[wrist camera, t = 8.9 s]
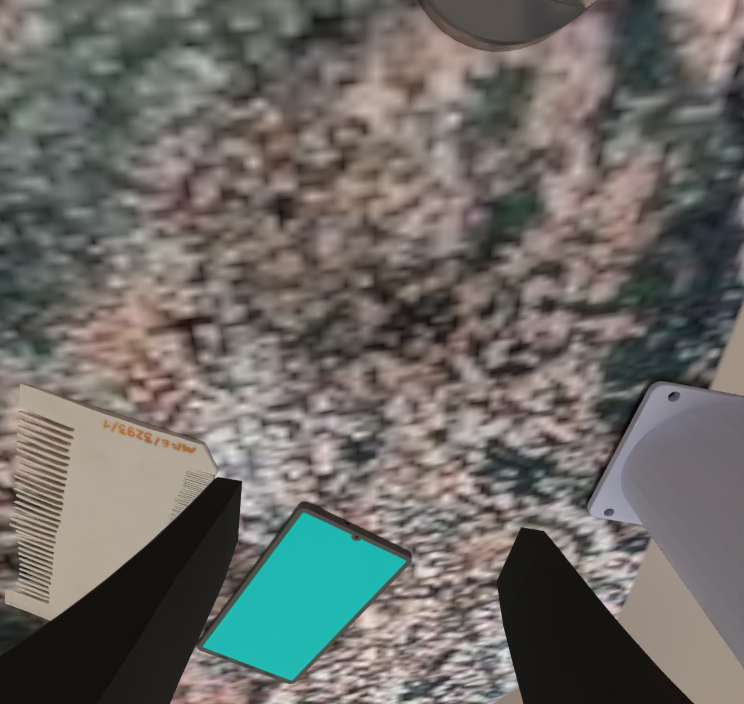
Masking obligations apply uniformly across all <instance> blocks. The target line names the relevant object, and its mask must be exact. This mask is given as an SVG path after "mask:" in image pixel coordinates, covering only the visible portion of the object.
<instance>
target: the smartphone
mask: <svg viewBox="0 0 744 704" xmlns="http://www.w3.org/2000/svg"><path fill="white" fill-rule="evenodd" d="M410 563H411V553H410V552H409V551H407V550H405V549H403V548H401V547H399V546H397V545H395V544H393V543H391V542H389V541H387V540H385V539H383V538H381V537H378V536H376V535H374V534H372V533H370V532H368V531H366V530H364V529H362V528H360V527H358V526H356V525H354V524H352V523H349V524H348V525H347V524H346V523H345V520H343V519H341V518H339V517H337V516H335V515H333V514H331V513H329V512H327V511H325V510H323V509H321V508H319V507H317V506H314V505H312V504H310V503H308V502H302V503H300V504H299V506H298V507H297V508H296V510H295V511H294V512H293V514H292V515H291V517H290V518H289V519H288V521H287V522H286V523H285V525H284V526H283V527H282V529H281V530H280V531H279V533H278V534H277V536H276V537H275V538H274V540H273V541H272V542H271V544H270V545H269V546H268V548H267V549H266V550H265V552H264V553H263V555H262V556H261V557H260V559H259V560H258V561H257V563H256V564H255V565H254V567H253V568H252V570H251V571H250V572H249V574H248V575H247V576H246V578H245V579H244V580H243V582H242V583H241V584H240V586H239V587H238V589H237V590H236V591H235V593H234V594H233V595H232V597H231V598H230V599H229V601H228V602H227V603H226V605H225V606H224V608H223V609H222V610H221V612H220V613H219V614H218V616H217V617H216V618H215V620H214V621H213V622H212V624H211V625H210V627H209V628H208V629H207V631H206V632H205V633H204V635H203V636H202V637H201V639H200V641H199V644H198V646H197V648H198V649H199V650H200V651H203V652H206V653H208V654H211V655H214V656H216V657H219V658H222V659H224V660H227V661H230V662H232V663H235V664H238V665H240V666H243V667H246V668H248V669H251V670H254V671H256V672H259V673H262V674H264V675H267V676H270V677H272V678H275V679H278V680H280V681H283V682H285V683H288V684H293V683H295V682H296V681H297V680H298V679H299V678H300V677H301V676H302V675H303V674H304V673H305V672H306V671H307V670H308V669H309V668H310V667H311V666H312V665H313V664H314V663H315V661H316V660H317V659H318V658H319V657H320V656H321V655H322V654H323V653H324V652H325V651H326V650H327V649H328V648H329V647H330V646H331V645H332V644H333V643H334V642H335V641H336V640H337V639H338V638H339V637H340V636H341V635H342V634H343V633H344V632H345V631H346V629H347V628H348V627H349V626H350V625H351V624H352V623H353V622H354V621H355V620H356V619H357V618H358V617H359V616H360V615H361V614H362V613H363V612H364V611H365V610H366V609H367V608H368V607H369V606H370V605H371V604H372V603H373V602H374V601H375V600H376V599H377V597H378V596H379V595H380V594H381V593H382V592H383V591H384V590H385V589H386V588H387V587H388V586H389V585H390V584H391V583H392V582H393V581H394V580H395V579H396V578H397V577H398V576H399V575H400V574H401V573H402V572H403V571H404V570H405V569H406V568H407V566H408V565H409V564H410Z"/></svg>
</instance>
